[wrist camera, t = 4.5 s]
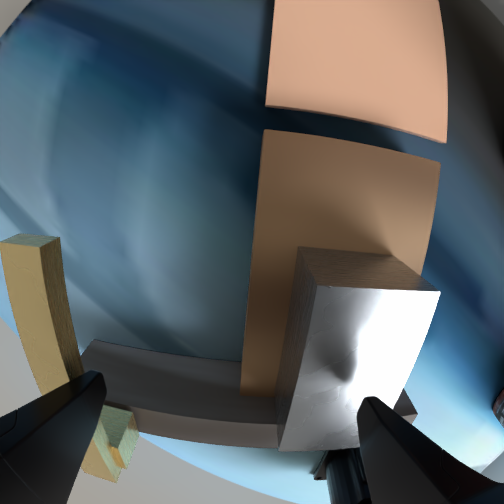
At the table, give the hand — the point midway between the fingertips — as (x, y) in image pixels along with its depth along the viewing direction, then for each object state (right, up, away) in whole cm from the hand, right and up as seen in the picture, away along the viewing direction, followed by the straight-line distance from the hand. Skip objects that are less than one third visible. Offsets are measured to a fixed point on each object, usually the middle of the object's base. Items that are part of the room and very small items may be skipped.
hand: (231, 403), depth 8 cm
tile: (+7, +16, +3) cm, 18 cm away
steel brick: (+4, +1, +5) cm, 6 cm away
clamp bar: (-6, 0, +3) cm, 7 cm away
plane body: (0, +3, +7) cm, 8 cm away
